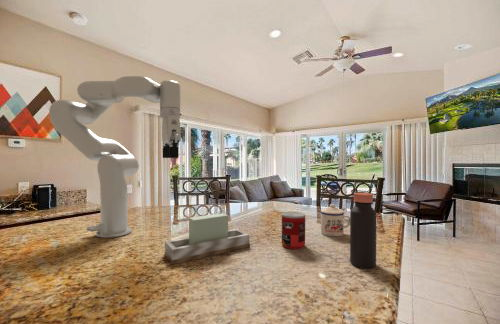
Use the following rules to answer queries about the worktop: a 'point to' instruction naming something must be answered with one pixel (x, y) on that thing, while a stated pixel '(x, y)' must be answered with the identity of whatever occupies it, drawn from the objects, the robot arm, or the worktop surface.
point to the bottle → (363, 232)
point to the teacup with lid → (333, 221)
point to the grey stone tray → (205, 247)
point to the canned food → (293, 230)
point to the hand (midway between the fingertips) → (170, 157)
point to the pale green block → (208, 228)
